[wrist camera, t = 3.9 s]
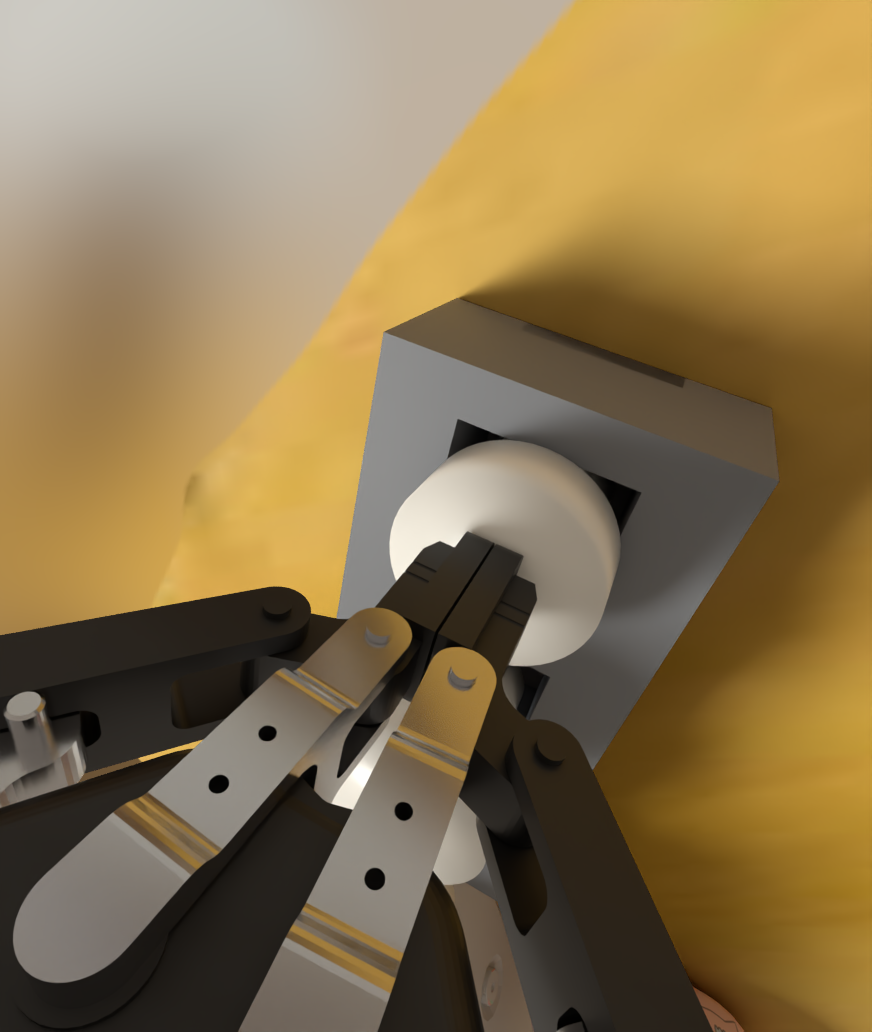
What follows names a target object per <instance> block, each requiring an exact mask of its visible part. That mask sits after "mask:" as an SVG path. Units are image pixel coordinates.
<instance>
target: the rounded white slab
mask: <svg viewBox="0 0 872 1032" xmlns="http://www.w3.org/2000/svg"><path fill="white" fill-rule="evenodd" d="M453 887H454V891H455V902H454V905H455V907H456V909H457V912H458V915H459V918H460V921H461V924H462V927H463V931H464V935H465V939H466V944H467V949H468V954H469V959H470V963H471V968H472V973H473V978H474V983H475V988H476V993H477V998H478V1002H479V1007H480V1012H481V1017H482V1022H483V1027H484V1032H533V1029H532V1025H531V1019H530V1015H529V1012H528V1008H527V1005H526V1001H525V998H524V994H523V991H522V987H521V984H520V980H519V977H518V973H517V969H516V966H515V962H514V959H513V955H512V952H511V948H510V945H509V941H508V938H507V934H506V931H505V927H504V924H503V920H502V917H501V914H500V911H499V908H498V906H497V903H496V900H494V899H492V898H491V897H489V896H487V895H485V894H484V893H482V892H480V891H479V890H477V889H475V888H474V887H472V886H470V885H469V884H467V883H465V882H464V883H460V884H454V885H453Z"/></svg>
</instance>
